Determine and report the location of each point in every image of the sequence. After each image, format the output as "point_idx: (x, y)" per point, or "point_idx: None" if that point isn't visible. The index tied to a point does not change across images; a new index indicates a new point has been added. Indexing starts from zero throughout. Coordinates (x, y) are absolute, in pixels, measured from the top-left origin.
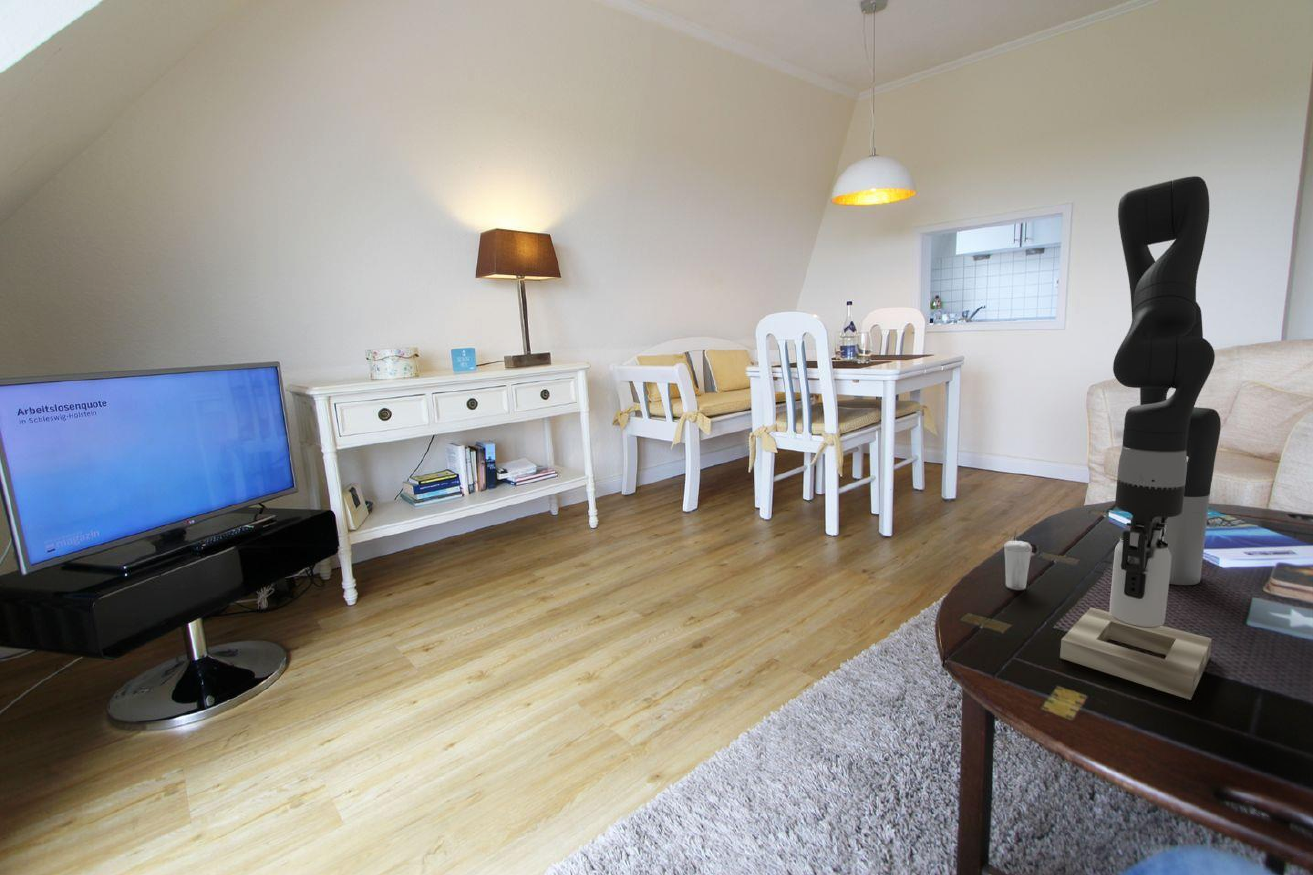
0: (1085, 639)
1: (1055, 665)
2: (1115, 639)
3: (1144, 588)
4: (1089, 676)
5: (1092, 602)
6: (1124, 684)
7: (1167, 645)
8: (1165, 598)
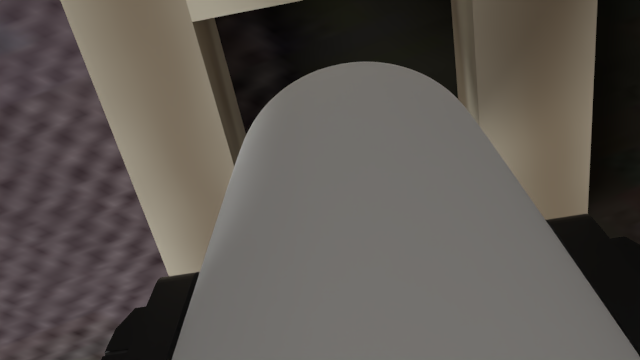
0: None
1: (619, 217)
2: None
3: (606, 258)
4: (624, 123)
5: (20, 346)
6: (602, 26)
7: (208, 41)
8: (390, 124)
